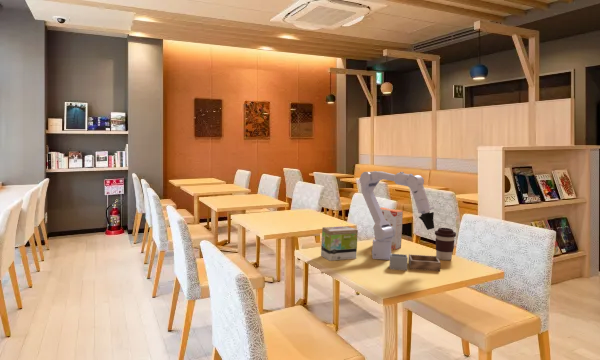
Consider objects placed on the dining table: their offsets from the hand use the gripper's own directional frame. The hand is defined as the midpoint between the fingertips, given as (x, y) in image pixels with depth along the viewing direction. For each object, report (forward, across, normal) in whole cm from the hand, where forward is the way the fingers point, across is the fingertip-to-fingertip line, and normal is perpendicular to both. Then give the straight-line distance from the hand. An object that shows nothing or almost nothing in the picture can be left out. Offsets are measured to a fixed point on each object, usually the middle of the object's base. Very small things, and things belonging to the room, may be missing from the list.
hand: (430, 229), depth 188 cm
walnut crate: (+16, +8, +7) cm, 19 cm away
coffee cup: (+16, +24, -5) cm, 30 cm away
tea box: (+2, +12, +45) cm, 47 cm away
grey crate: (+13, +2, +19) cm, 23 cm away
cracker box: (+3, +40, +20) cm, 45 cm away
